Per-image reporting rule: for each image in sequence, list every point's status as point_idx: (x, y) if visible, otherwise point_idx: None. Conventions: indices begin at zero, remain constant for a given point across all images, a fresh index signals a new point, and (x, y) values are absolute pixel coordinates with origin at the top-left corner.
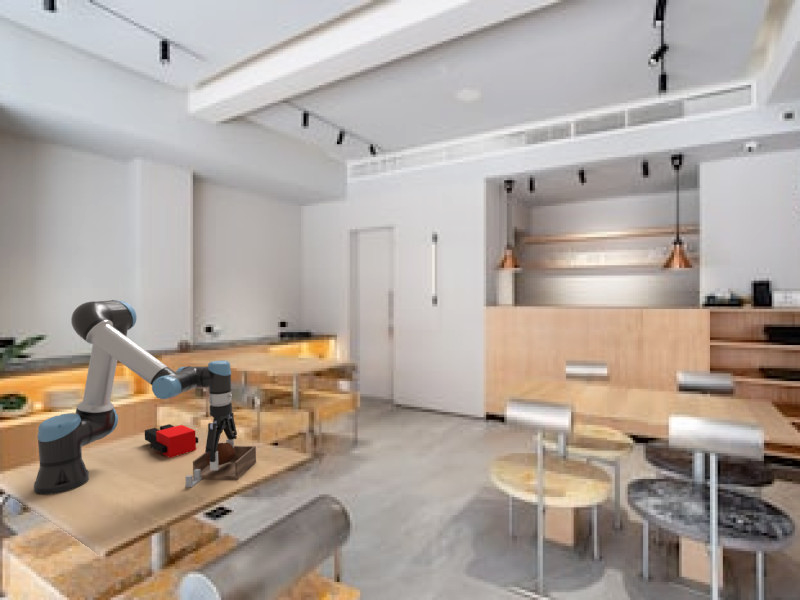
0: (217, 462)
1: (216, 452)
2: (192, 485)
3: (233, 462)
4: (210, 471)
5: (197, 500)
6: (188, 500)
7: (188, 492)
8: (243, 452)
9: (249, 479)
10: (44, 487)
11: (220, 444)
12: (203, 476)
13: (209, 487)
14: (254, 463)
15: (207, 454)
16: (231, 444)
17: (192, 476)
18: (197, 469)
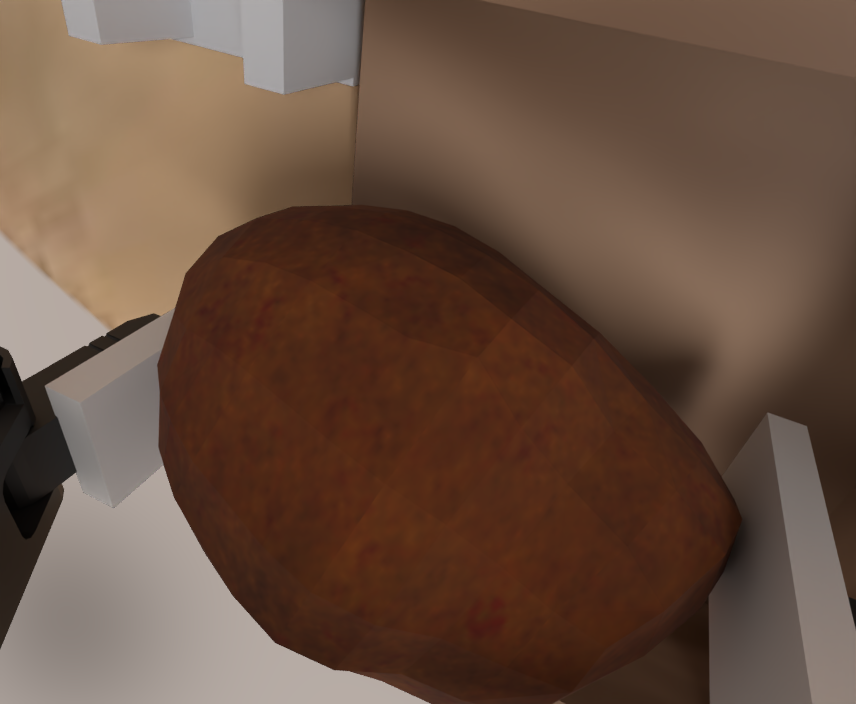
0: None
1: (85, 483)
2: (181, 39)
3: (735, 435)
4: (474, 177)
5: (33, 191)
6: (7, 115)
7: (95, 48)
8: None
9: None
10: None
11: (256, 618)
12: (364, 109)
13: (209, 233)
14: None
15: (211, 274)
16: (726, 691)
17: (107, 43)
18: (275, 32)
